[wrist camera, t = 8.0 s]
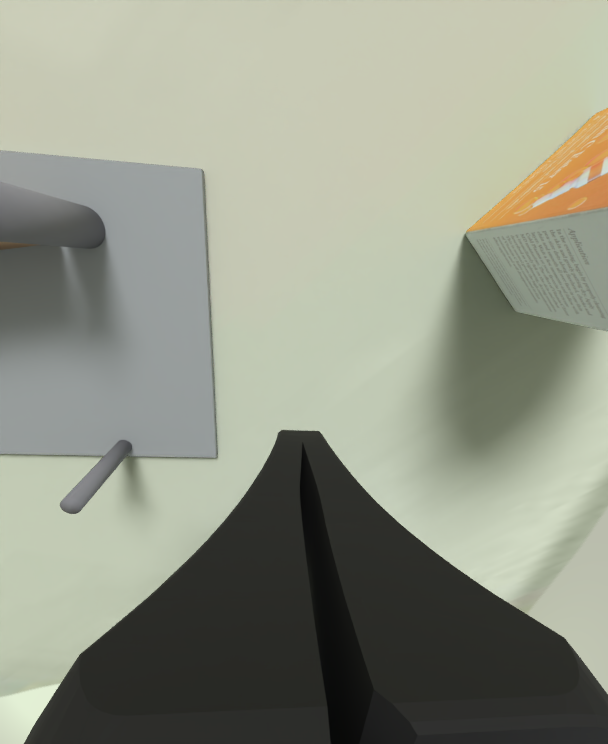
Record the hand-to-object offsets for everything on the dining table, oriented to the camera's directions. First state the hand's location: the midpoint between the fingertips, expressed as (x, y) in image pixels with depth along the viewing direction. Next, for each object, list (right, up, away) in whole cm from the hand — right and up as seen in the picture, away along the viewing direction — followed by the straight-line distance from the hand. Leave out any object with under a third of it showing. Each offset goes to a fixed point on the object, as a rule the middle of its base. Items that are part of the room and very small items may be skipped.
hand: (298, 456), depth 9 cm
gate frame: (-14, +5, +7) cm, 17 cm away
